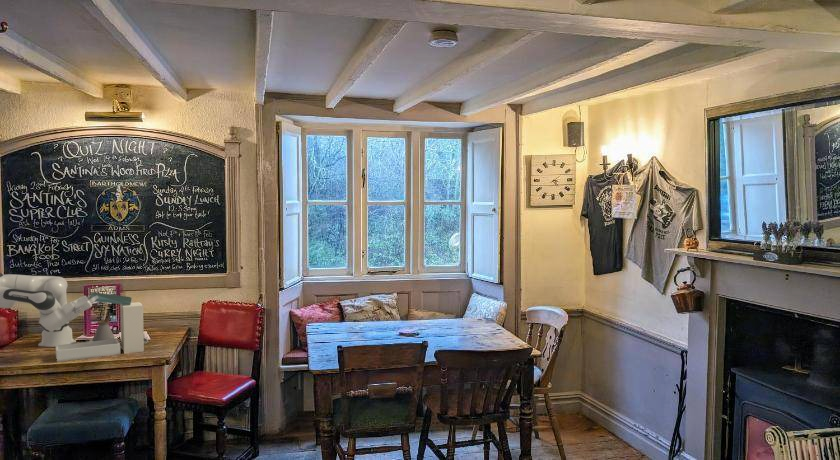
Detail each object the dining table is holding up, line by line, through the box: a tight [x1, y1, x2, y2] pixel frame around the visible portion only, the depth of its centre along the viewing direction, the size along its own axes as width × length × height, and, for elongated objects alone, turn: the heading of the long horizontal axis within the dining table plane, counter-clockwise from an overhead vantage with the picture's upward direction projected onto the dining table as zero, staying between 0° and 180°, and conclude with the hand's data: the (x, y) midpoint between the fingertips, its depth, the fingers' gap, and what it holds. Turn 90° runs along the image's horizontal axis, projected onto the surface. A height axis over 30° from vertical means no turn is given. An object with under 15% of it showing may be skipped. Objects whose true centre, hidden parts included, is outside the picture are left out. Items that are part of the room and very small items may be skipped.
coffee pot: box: [92, 312, 116, 341], centre depth 365 cm, size 21×12×15 cm, turn 12°
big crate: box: [55, 338, 121, 363], centre depth 333 cm, size 13×30×6 cm, turn 123°
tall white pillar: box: [119, 301, 145, 354], centre depth 345 cm, size 12×10×26 cm
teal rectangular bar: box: [89, 291, 133, 305], centre depth 338 cm, size 4×20×4 cm, turn 124°
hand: (97, 295), depth 334 cm, fingers closed on teal rectangular bar, 4 cm apart
